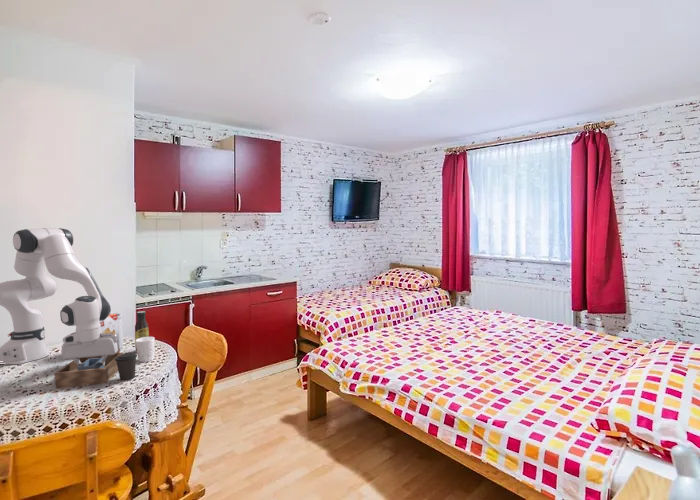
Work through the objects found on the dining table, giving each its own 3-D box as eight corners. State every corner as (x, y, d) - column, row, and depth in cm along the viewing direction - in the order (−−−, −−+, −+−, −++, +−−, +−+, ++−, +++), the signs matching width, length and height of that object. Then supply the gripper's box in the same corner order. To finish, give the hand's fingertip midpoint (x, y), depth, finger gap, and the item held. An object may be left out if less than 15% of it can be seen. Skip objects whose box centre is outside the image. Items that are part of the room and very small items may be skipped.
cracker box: (97, 366, 175) (93, 321, 174) (86, 365, 177) (82, 320, 175) (121, 355, 189) (117, 313, 187) (110, 354, 190) (107, 313, 189)
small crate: (78, 379, 158) (77, 367, 158) (89, 370, 168) (88, 358, 168) (94, 377, 160) (93, 365, 159) (104, 368, 169) (103, 357, 169)
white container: (103, 344, 207) (101, 312, 206) (130, 344, 206) (128, 312, 205) (83, 354, 192) (80, 319, 191) (112, 353, 192) (109, 319, 190)
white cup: (134, 360, 182) (133, 339, 181) (152, 355, 188) (150, 335, 187) (140, 364, 176) (139, 342, 176) (158, 359, 182) (157, 338, 181)
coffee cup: (142, 373, 165) (140, 351, 164) (132, 381, 156) (130, 357, 156) (123, 374, 164) (121, 351, 164) (112, 382, 156) (110, 358, 155)
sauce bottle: (139, 353, 191) (137, 314, 190) (133, 351, 194) (130, 312, 193) (152, 349, 197) (150, 311, 195) (145, 347, 200) (143, 310, 198)
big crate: (55, 388, 152) (54, 373, 152) (79, 369, 172) (78, 356, 171) (106, 383, 156) (104, 368, 156) (124, 365, 176) (123, 352, 175)
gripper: (118, 330, 168) (121, 361, 169) (65, 334, 164) (68, 366, 165) (113, 334, 162) (115, 366, 163) (58, 339, 157) (60, 371, 159)
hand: (91, 366), depth 164 cm, fingers open, 7 cm apart
